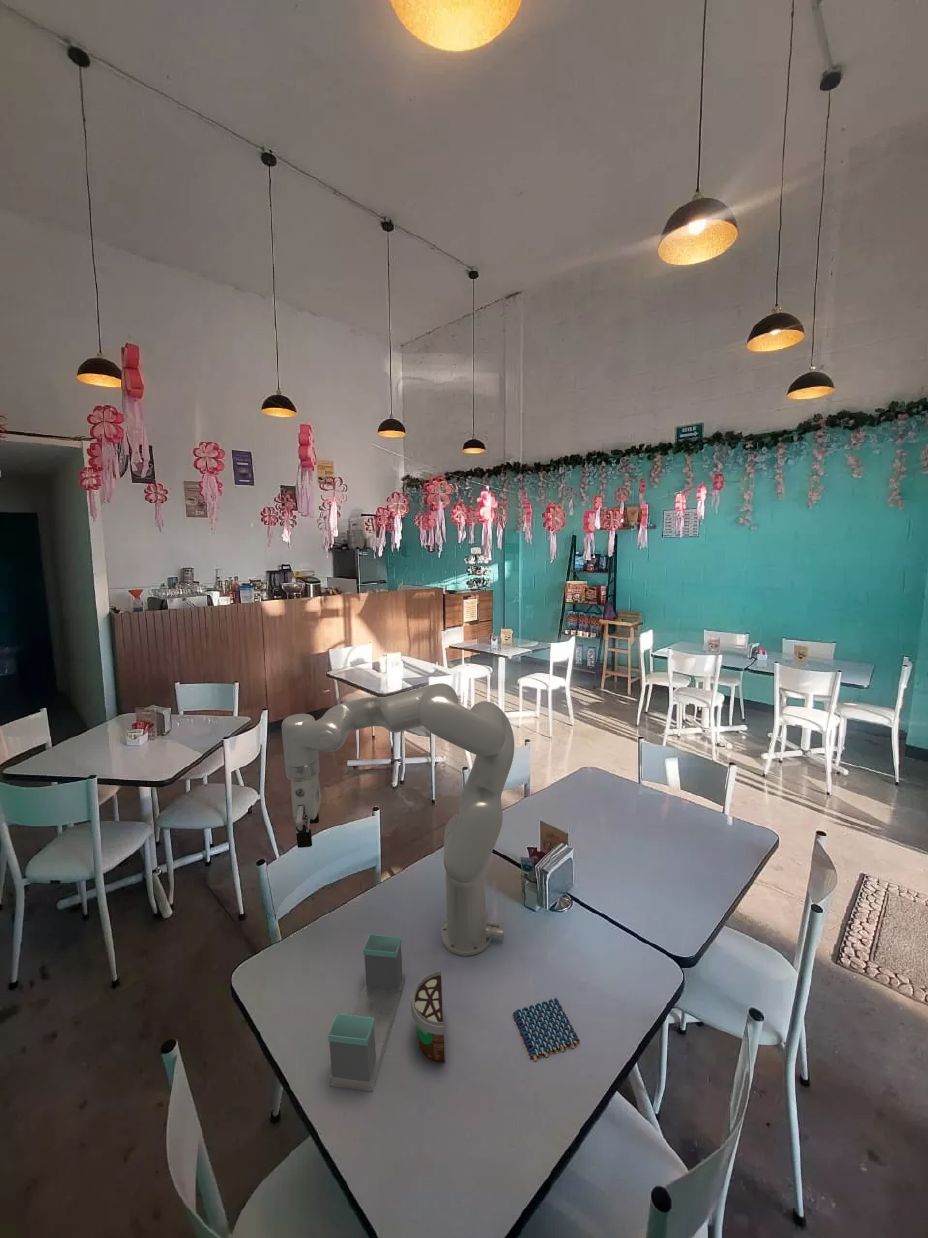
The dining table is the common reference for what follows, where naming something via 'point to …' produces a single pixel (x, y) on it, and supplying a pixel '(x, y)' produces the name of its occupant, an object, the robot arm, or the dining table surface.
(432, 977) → the food container
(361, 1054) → the mounted module
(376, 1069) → the rail
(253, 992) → the dining table surface
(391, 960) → the block
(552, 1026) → the woven mat
